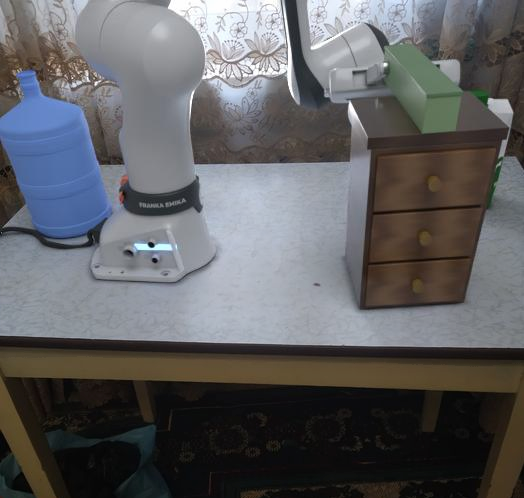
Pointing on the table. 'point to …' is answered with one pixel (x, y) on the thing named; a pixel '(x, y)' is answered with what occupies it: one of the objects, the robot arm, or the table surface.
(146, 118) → the robot arm
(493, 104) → the milk carton
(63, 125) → the water jug
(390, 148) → the drawer unit
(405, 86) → the storage box
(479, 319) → the table surface
